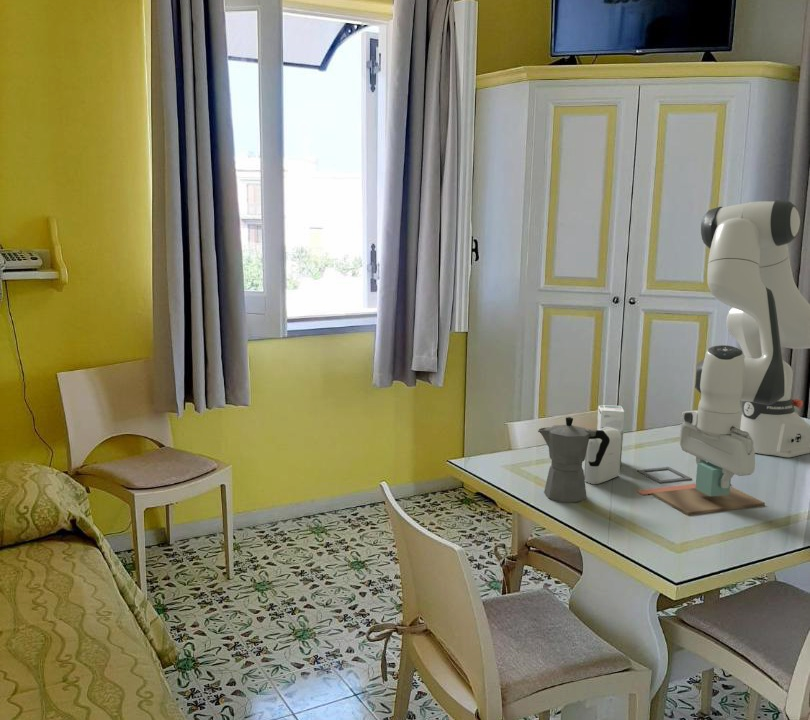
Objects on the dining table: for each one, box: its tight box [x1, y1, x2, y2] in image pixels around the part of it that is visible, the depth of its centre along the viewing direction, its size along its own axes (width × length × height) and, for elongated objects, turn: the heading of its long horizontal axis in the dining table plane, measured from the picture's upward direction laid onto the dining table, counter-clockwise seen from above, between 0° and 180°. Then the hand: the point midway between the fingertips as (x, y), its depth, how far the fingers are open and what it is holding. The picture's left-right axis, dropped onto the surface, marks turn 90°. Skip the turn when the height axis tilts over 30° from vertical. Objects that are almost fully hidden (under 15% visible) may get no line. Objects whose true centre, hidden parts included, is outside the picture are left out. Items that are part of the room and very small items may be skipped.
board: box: [652, 485, 766, 516], centre depth 176 cm, size 20×12×1 cm, turn 108°
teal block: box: [695, 462, 732, 497], centre depth 175 cm, size 5×5×6 cm
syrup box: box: [596, 404, 626, 467], centre depth 199 cm, size 6×6×14 cm
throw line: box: [636, 483, 732, 496], centre depth 183 cm, size 24×2×1 cm, turn 108°
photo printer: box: [584, 427, 622, 485], centre depth 188 cm, size 10×4×12 cm, turn 132°
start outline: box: [636, 466, 693, 484], centre depth 192 cm, size 9×9×1 cm
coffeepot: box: [537, 416, 610, 504], centre depth 176 cm, size 15×9×18 cm, turn 75°
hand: (713, 482), depth 176 cm, fingers closed on teal block, 5 cm apart
